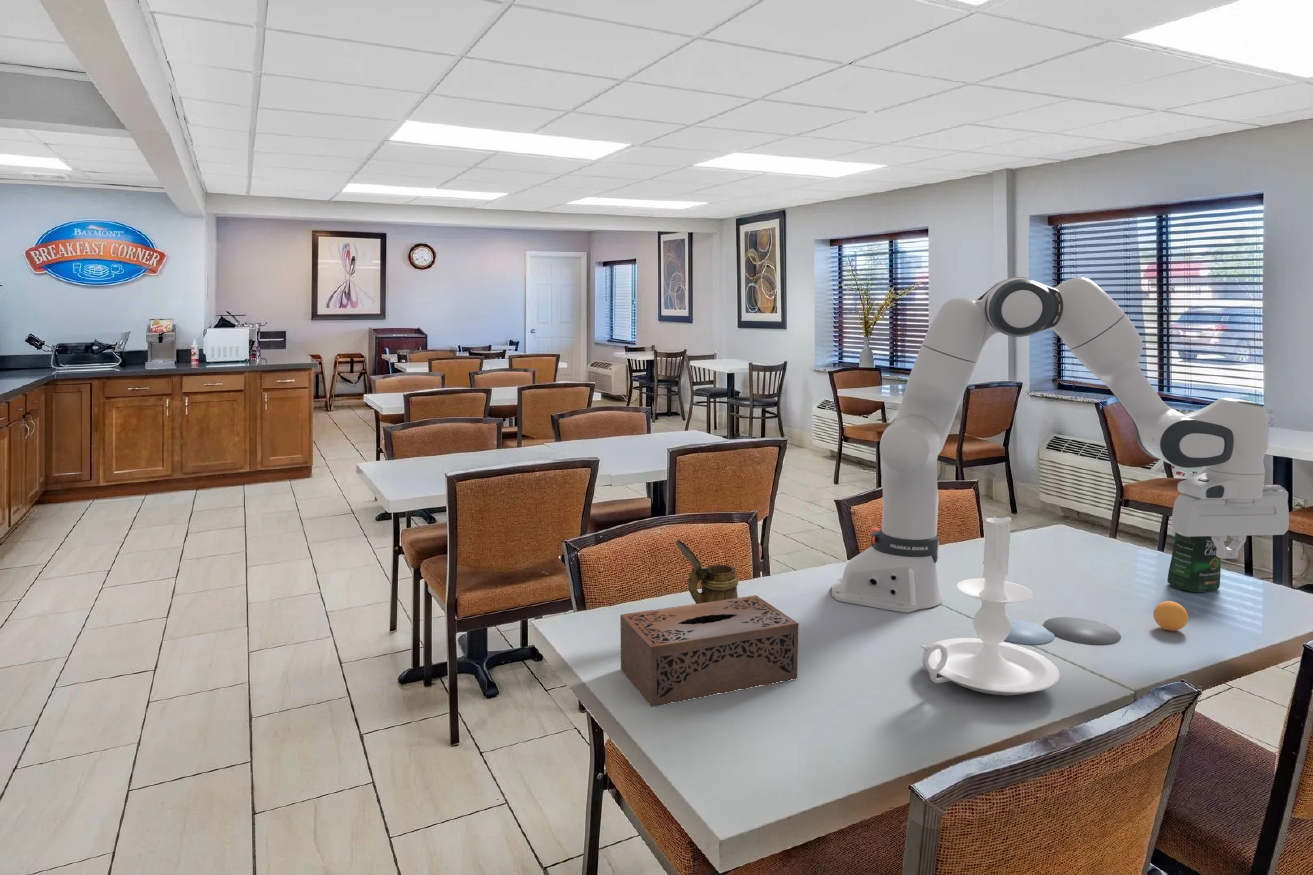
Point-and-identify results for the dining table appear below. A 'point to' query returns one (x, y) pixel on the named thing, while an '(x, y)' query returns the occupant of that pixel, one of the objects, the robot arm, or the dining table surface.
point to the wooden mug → (710, 579)
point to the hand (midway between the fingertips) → (1226, 557)
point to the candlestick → (991, 632)
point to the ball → (1170, 615)
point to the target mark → (1082, 630)
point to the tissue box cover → (707, 648)
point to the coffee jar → (1194, 564)
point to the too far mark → (1028, 633)
